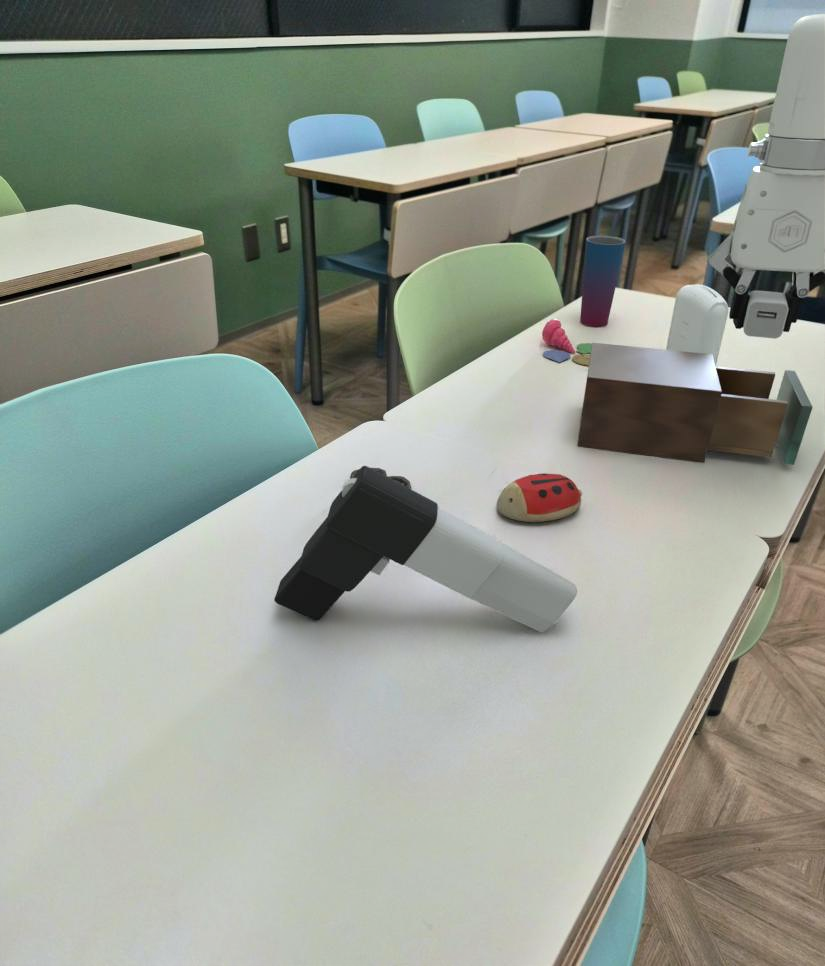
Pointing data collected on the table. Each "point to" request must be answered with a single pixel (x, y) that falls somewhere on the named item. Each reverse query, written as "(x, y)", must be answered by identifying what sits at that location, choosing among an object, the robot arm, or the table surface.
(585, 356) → the toy pieces
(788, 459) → the drawer
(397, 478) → the corroded twin loop
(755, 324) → the usb wall charger
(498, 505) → the ladybug figurine
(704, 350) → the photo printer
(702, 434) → the cabinet
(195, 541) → the table surface
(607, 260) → the cup
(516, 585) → the handheld device
